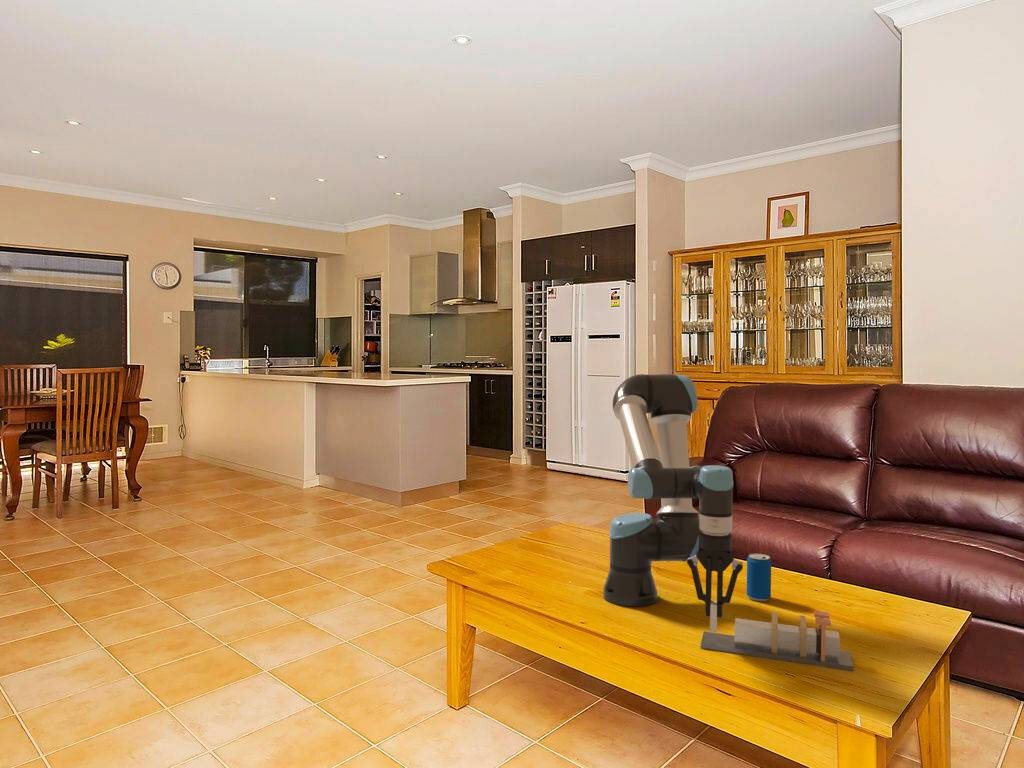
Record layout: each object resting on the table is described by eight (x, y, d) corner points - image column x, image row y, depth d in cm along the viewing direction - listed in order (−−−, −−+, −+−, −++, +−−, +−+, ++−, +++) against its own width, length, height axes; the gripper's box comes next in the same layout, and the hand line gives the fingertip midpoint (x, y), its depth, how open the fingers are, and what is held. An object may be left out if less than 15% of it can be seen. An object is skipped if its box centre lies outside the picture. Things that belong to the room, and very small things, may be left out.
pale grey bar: (734, 641, 157) (734, 624, 157) (735, 634, 161) (735, 617, 161) (839, 656, 149) (839, 638, 149) (837, 649, 153) (838, 631, 153)
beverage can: (772, 603, 188) (773, 560, 188) (748, 601, 189) (748, 558, 189) (768, 595, 194) (769, 553, 194) (745, 593, 196) (745, 552, 195)
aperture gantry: (815, 660, 149) (816, 621, 149) (813, 647, 156) (814, 610, 156) (830, 662, 148) (831, 623, 148) (827, 649, 155) (828, 612, 155)
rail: (700, 648, 158) (701, 614, 158) (703, 635, 165) (704, 603, 165) (853, 671, 146) (854, 634, 146) (849, 656, 154) (850, 621, 154)
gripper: (685, 533, 159) (683, 632, 160) (744, 538, 154) (742, 640, 155) (688, 525, 166) (686, 620, 167) (744, 530, 161) (742, 627, 163)
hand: (713, 629), depth 161 cm, fingers closed
